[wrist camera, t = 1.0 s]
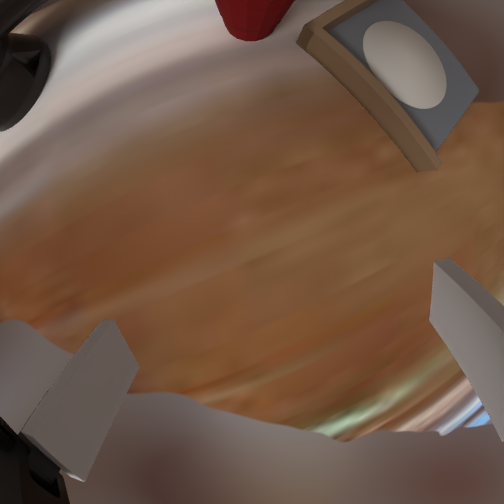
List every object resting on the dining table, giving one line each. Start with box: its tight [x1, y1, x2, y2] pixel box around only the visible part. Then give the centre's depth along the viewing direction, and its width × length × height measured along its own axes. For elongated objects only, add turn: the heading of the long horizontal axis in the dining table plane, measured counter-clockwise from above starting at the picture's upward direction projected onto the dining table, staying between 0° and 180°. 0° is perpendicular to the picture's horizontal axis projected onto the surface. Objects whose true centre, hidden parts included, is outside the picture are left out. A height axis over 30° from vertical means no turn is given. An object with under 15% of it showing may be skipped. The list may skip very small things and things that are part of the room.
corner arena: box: [296, 0, 479, 172], centre depth 26 cm, size 22×22×4 cm
